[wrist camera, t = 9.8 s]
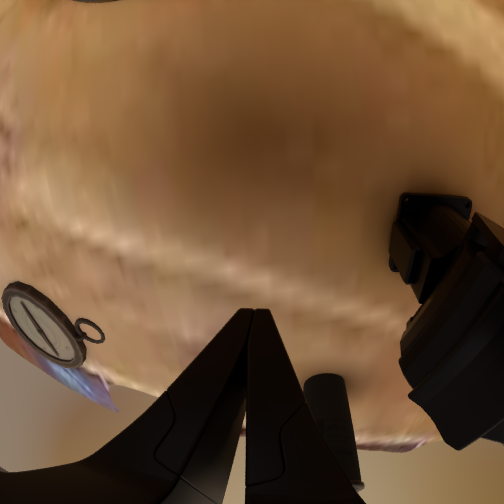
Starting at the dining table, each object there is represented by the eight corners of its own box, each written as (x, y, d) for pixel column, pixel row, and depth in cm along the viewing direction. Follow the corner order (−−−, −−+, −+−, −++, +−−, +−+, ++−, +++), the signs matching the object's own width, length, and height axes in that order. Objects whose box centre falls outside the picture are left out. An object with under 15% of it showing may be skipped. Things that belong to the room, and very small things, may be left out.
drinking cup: (282, 394, 33) (267, 547, 16) (307, 360, 29) (298, 550, 12) (337, 402, 33) (337, 545, 16) (367, 371, 29) (381, 540, 12)
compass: (18, 329, 37) (13, 336, 36) (-3, 260, 29) (-11, 268, 27) (110, 382, 39) (105, 392, 38) (106, 323, 31) (98, 335, 29)
